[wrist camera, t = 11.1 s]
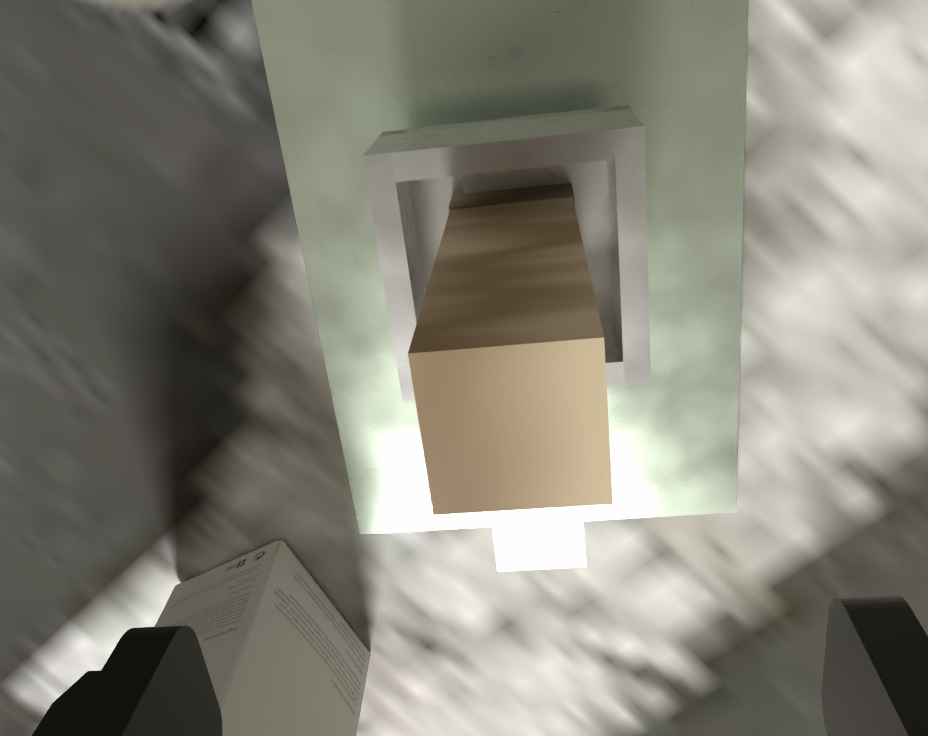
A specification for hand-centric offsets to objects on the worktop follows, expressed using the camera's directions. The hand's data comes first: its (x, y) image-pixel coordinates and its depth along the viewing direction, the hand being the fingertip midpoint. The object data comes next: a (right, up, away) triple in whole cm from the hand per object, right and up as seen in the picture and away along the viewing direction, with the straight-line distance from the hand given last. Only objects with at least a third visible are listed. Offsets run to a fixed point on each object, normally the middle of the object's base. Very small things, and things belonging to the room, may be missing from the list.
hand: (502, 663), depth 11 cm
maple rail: (+1, +8, +16) cm, 18 cm away
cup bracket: (+2, +8, +22) cm, 23 cm away
